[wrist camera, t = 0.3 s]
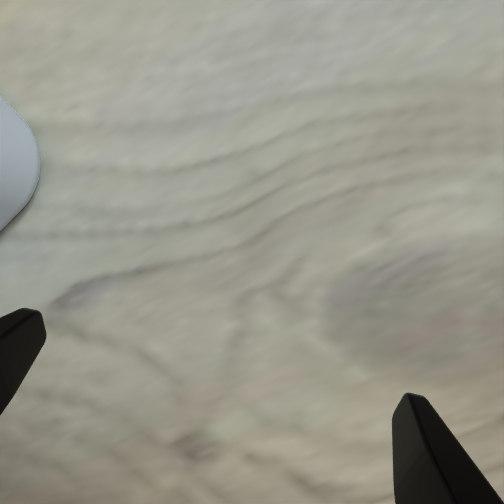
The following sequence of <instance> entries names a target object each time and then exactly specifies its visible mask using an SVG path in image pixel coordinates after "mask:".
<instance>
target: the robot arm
mask: <svg viewBox="0 0 504 504" xmlns="http://www.w3.org/2000/svg"><path fill="white" fill-rule="evenodd" d="M45 340H46V330H45V325H44V321H43V317H42V314H41V313H40V312H39V311H38V310H33V309H29V308H21V309H18V310H16V311H14V312H12V313H9V314H7V315H5V316H3V317H1V318H0V415H1V414H2V412H3V411H4V409H5V408H6V407H7V405H8V404H9V402H10V401H11V399H12V398H13V396H14V395H15V393H16V391H17V390H18V388H19V386H20V385H21V383H22V381H23V379H24V378H25V376H26V374H27V373H28V371H29V369H30V367H31V366H32V364H33V362H34V360H35V359H36V357H37V355H38V354H39V352H40V350H41V348H42V347H43V345H44V343H45ZM392 443H393V480H394V495H395V503H396V504H504V502H503V501H502V500H501V498H500V497H499V495H498V494H497V493H496V491H495V490H494V489H493V487H492V486H491V485H490V483H489V482H488V481H487V479H486V478H485V477H484V475H483V474H482V473H481V471H480V470H479V469H478V467H477V466H476V465H475V463H474V462H473V461H472V459H471V458H470V456H469V455H468V454H467V452H466V451H465V450H464V448H463V447H462V446H461V444H460V443H459V442H458V440H457V439H456V438H455V436H454V435H453V434H452V432H451V431H450V430H449V428H448V427H447V426H446V424H445V423H444V421H443V420H442V419H441V417H440V416H439V415H438V413H437V412H436V411H435V409H434V408H433V407H432V405H431V404H430V403H429V401H428V400H427V399H426V398H425V397H424V396H421V395H417V394H413V393H406V394H404V396H403V397H402V399H401V401H400V402H399V404H398V406H397V408H396V410H395V411H394V414H393V417H392Z"/></svg>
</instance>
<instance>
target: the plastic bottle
mask: <svg viewBox="0 0 504 504" xmlns="http://www.w3.org/2000/svg"><path fill="white" fill-rule="evenodd" d="M40 169H41V158H40V151H39V147H38V144H37V141H36V139H35V136H34V134H33V132H32V130H31V129H30V127H29V126H28V124H27V123H26V122H25V120H24V119H23V118H22V117H21V116H20V115H19V114H18V113H17V112H16V111H15V110H14V109H13V108H12V107H11V106H10V104H9V103H8V102H7V101H6V100H5V99H4V98H3V97H2V96H1V95H0V231H1V230H2V229H3V228H4V227H5V226H6V225H7V224H8V223H9V222H10V221H11V220H12V219H13V218H14V217H15V216H16V215H17V214H18V213H19V212H20V211H21V210H22V209H23V208H24V207H25V205H26V204H27V203H28V202H29V200H30V199H31V197H32V195H33V193H34V191H35V189H36V187H37V184H38V180H39V176H40Z"/></svg>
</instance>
